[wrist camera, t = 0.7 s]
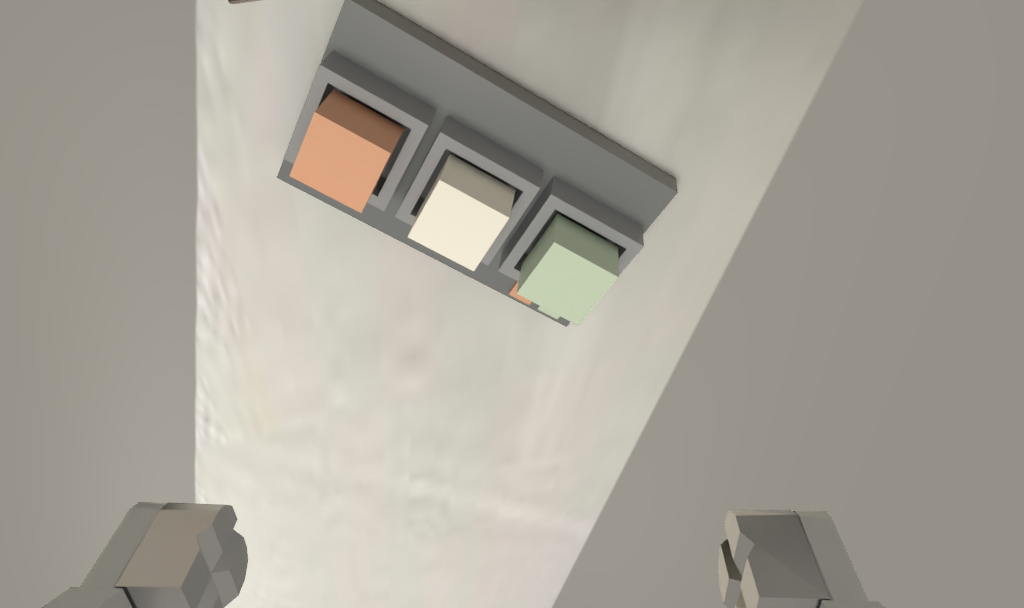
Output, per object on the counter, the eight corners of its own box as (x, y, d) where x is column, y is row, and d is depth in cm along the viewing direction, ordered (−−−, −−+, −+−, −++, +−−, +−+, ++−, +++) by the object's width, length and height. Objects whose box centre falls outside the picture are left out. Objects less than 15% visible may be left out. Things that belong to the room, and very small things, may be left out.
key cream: (450, 153, 45) (439, 179, 42) (515, 190, 46) (509, 217, 43) (419, 209, 47) (407, 237, 45) (481, 242, 49) (473, 271, 46)
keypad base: (355, -12, 43) (332, 9, 40) (675, 178, 48) (680, 211, 45) (287, 164, 51) (263, 194, 48) (567, 310, 57) (564, 347, 53)
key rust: (333, 89, 43) (314, 111, 40) (404, 128, 44) (390, 153, 41) (308, 150, 46) (289, 176, 43) (376, 186, 47) (361, 213, 44)
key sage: (557, 213, 46) (554, 242, 44) (618, 247, 48) (618, 277, 45) (521, 263, 49) (516, 293, 46) (579, 294, 50) (578, 325, 48)
